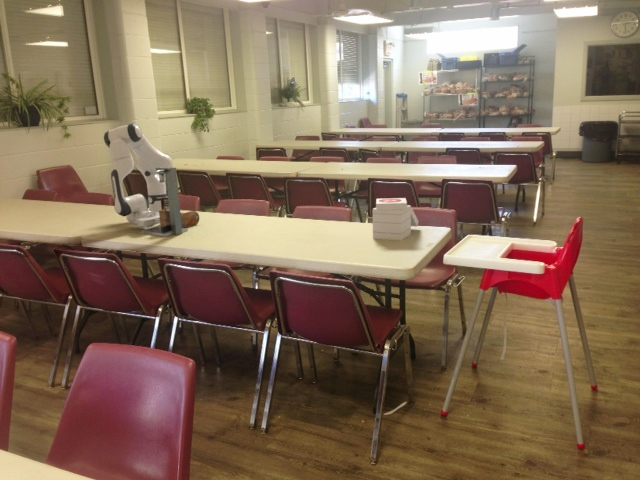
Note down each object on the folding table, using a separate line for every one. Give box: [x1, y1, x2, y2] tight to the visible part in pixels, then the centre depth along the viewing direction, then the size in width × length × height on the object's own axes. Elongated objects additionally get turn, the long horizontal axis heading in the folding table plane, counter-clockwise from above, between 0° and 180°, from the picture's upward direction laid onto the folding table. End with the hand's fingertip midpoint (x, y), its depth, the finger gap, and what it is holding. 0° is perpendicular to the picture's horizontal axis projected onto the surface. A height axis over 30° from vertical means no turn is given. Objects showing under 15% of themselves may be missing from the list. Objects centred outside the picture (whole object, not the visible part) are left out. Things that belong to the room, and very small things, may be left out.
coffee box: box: [161, 196, 169, 210], centre depth 339 cm, size 9×6×16 cm
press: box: [141, 166, 189, 238], centre depth 311 cm, size 22×22×36 cm
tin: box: [181, 210, 200, 228], centre depth 331 cm, size 15×3×8 cm, turn 143°
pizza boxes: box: [372, 197, 419, 241], centre depth 292 cm, size 19×30×18 cm, turn 153°
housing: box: [159, 206, 171, 227], centre depth 315 cm, size 5×5×13 cm
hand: (163, 221), depth 317 cm, fingers closed, pressing on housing
